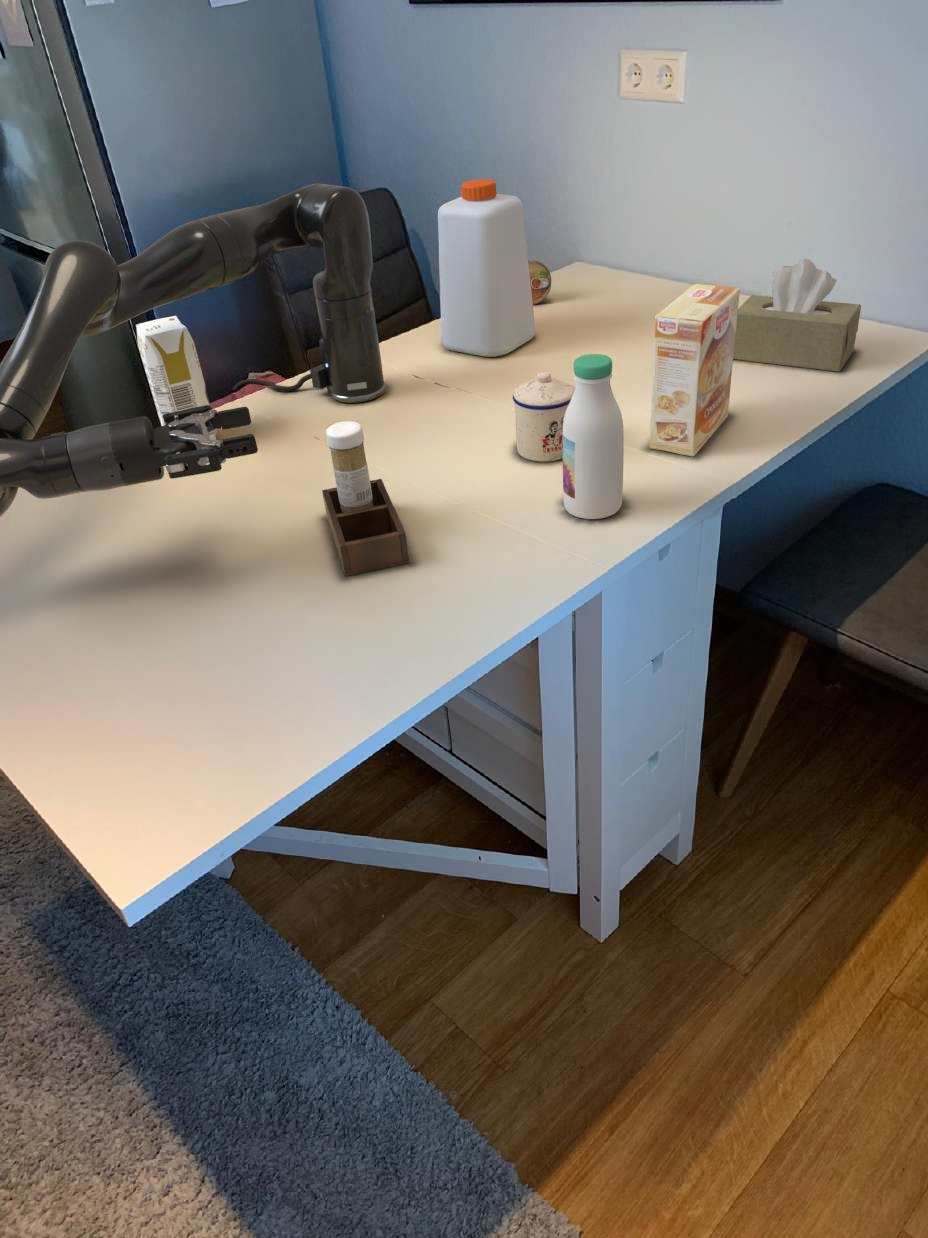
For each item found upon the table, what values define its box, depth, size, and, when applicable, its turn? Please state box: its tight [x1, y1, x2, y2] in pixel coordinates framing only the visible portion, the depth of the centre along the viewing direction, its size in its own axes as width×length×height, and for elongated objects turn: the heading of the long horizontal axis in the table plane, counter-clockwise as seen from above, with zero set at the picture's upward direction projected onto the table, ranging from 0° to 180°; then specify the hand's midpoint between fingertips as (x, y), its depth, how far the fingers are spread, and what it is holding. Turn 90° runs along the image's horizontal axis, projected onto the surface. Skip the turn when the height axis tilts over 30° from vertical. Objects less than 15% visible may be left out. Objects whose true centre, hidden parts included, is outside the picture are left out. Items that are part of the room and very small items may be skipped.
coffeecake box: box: [649, 283, 741, 457], centre depth 133 cm, size 15×7×20 cm, turn 148°
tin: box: [528, 260, 552, 305], centre depth 191 cm, size 15×3×8 cm, turn 81°
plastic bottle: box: [437, 178, 536, 358], centre depth 168 cm, size 15×15×28 cm
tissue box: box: [733, 258, 862, 373], centre depth 154 cm, size 19×10×16 cm, turn 59°
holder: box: [321, 478, 411, 577], centre depth 120 cm, size 8×15×4 cm, turn 15°
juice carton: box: [135, 315, 217, 440], centre depth 144 cm, size 8×9×19 cm
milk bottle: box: [562, 353, 625, 520], centre depth 117 cm, size 8×8×20 cm
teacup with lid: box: [512, 371, 575, 463], centre depth 135 cm, size 12×9×12 cm
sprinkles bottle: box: [325, 420, 374, 513], centre depth 119 cm, size 5×5×14 cm
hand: (253, 428), depth 112 cm, fingers open, 8 cm apart
